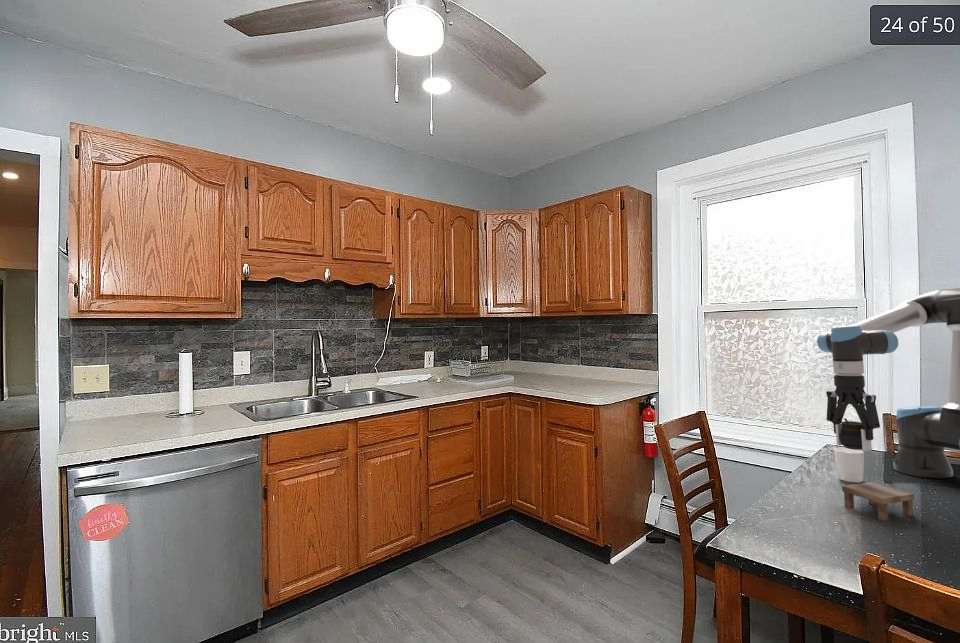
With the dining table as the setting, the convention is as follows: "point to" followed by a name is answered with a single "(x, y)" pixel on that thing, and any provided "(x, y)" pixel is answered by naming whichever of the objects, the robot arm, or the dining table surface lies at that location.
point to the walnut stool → (879, 497)
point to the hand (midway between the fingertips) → (853, 447)
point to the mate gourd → (851, 435)
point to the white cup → (849, 464)
